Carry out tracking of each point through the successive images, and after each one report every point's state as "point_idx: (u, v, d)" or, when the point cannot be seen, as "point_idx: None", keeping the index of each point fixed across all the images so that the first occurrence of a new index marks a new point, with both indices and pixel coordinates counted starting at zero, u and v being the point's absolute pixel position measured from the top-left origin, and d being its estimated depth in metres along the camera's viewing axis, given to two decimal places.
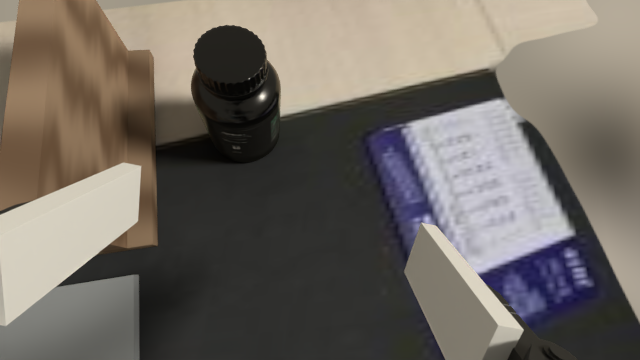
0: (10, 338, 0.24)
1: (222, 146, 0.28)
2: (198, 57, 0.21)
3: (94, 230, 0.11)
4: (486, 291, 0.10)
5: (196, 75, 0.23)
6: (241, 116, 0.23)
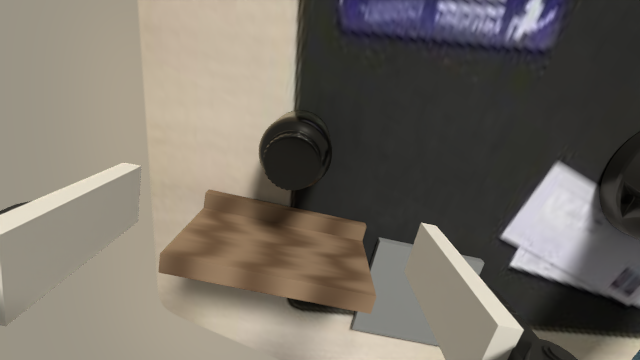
0: (385, 301, 0.42)
1: None
2: (289, 187, 0.26)
3: (94, 230, 0.11)
4: (486, 291, 0.10)
5: None
6: (328, 161, 0.29)
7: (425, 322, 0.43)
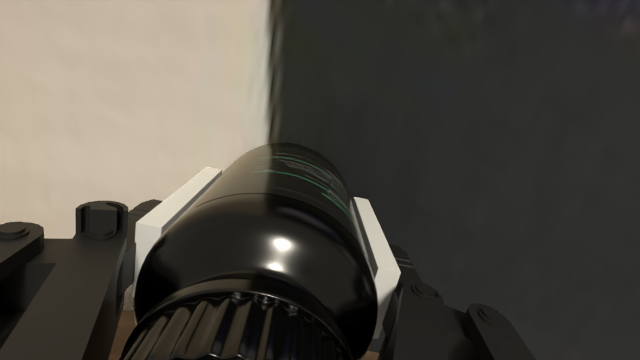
0: None
1: None
2: None
3: None
4: (384, 246, 0.12)
5: None
6: (368, 343, 0.09)
7: None
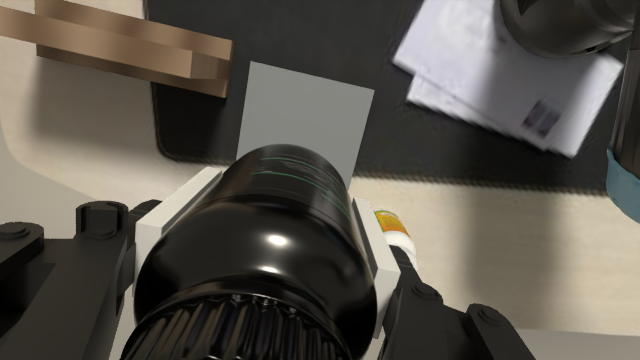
0: (266, 143, 0.37)
1: None
2: None
3: None
4: (384, 246, 0.12)
5: None
6: (367, 345, 0.09)
7: None
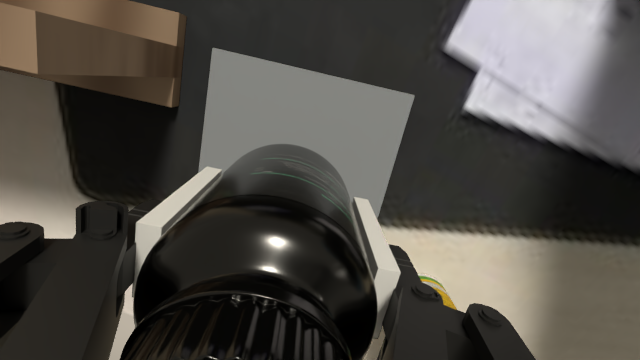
0: None
1: None
2: None
3: None
4: (384, 246, 0.12)
5: None
6: (367, 344, 0.09)
7: None
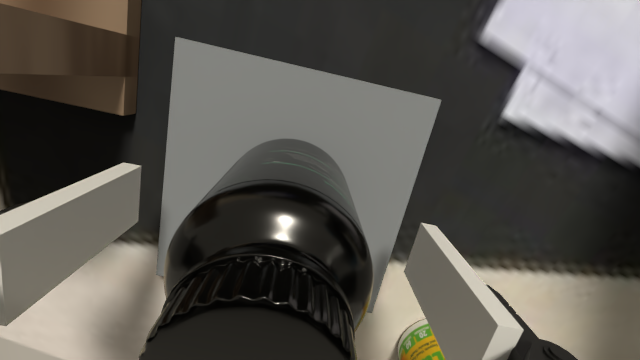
0: None
1: None
2: None
3: (94, 230, 0.11)
4: (486, 291, 0.10)
5: None
6: (364, 308, 0.10)
7: None
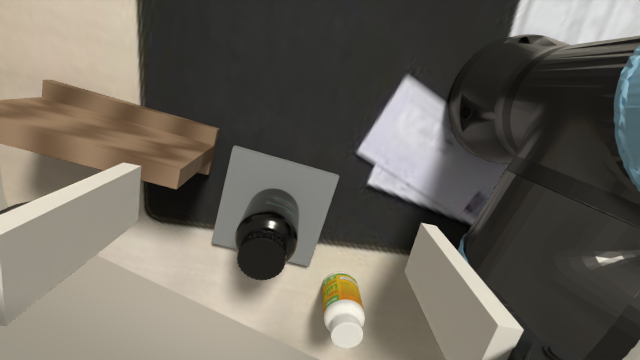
0: (242, 214, 0.42)
1: None
2: (258, 277, 0.31)
3: (94, 230, 0.11)
4: (486, 291, 0.10)
5: None
6: (293, 249, 0.34)
7: None
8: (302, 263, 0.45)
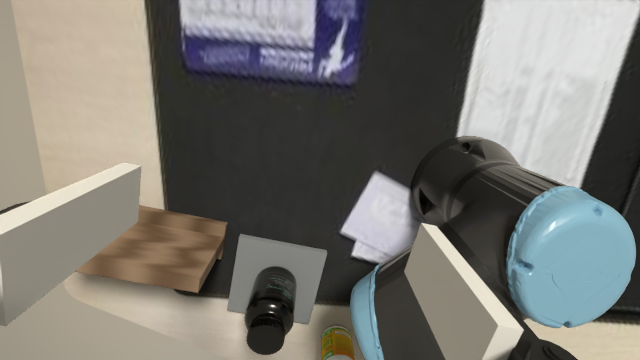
0: (251, 286, 0.52)
1: None
2: (264, 353, 0.41)
3: (94, 230, 0.11)
4: (486, 291, 0.10)
5: None
6: (290, 325, 0.43)
7: None
8: (303, 321, 0.54)
